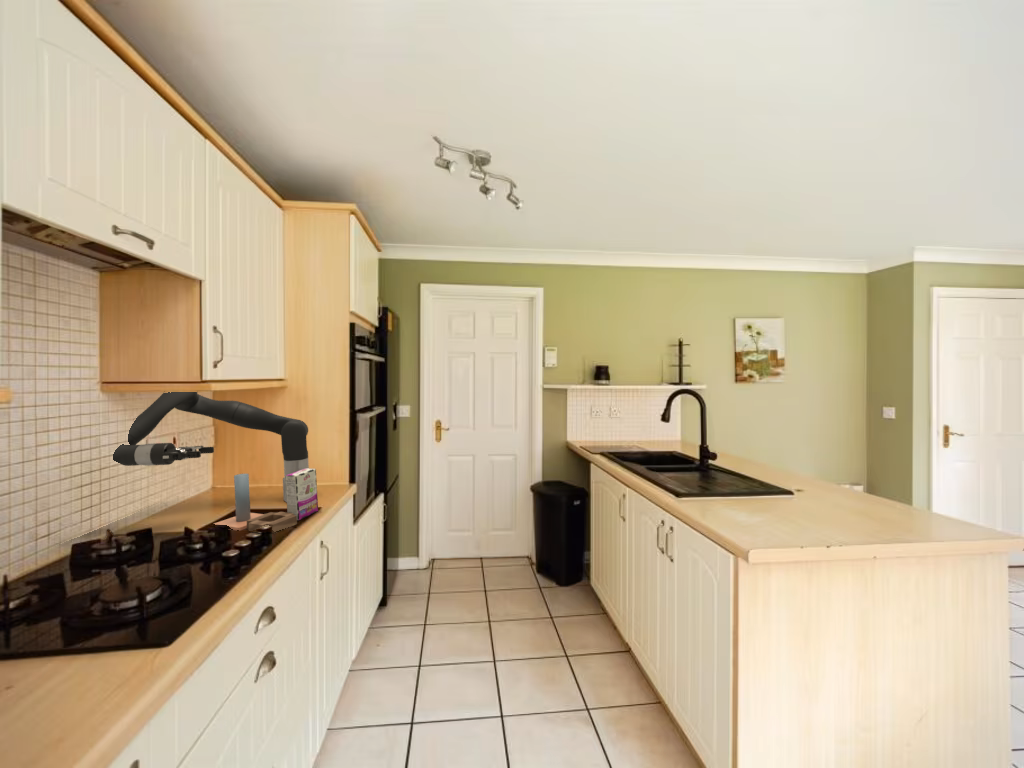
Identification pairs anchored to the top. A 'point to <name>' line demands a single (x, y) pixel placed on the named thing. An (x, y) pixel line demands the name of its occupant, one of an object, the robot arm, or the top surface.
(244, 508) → the slate peg
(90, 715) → the top surface
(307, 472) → the candy bar box
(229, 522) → the terracotta tile
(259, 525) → the pocket block
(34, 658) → the top surface
